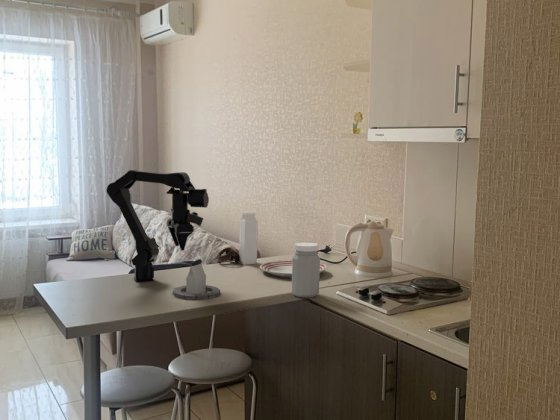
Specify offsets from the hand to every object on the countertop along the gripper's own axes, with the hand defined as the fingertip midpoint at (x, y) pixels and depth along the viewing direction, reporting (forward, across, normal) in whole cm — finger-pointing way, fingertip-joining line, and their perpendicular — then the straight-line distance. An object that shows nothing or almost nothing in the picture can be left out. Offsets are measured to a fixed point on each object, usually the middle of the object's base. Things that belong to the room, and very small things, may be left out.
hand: (179, 248), depth 223 cm
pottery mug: (+13, +30, -29) cm, 43 cm away
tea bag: (+13, -18, -2) cm, 22 cm away
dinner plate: (+14, +4, -48) cm, 50 cm away
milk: (+13, +28, -36) cm, 48 cm away
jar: (+13, -30, -38) cm, 50 cm away
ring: (+13, -18, -2) cm, 22 cm away
